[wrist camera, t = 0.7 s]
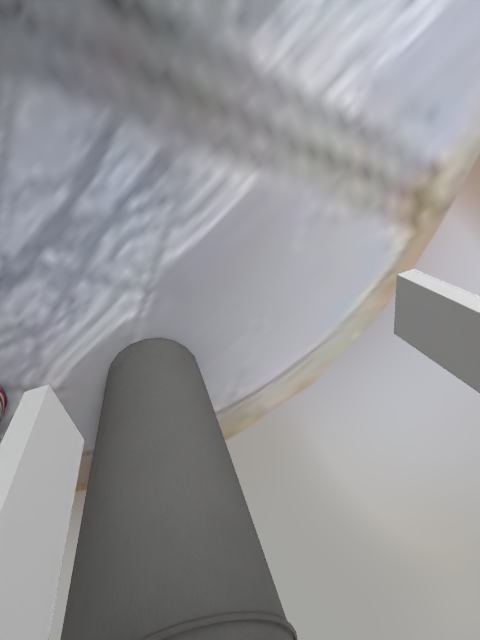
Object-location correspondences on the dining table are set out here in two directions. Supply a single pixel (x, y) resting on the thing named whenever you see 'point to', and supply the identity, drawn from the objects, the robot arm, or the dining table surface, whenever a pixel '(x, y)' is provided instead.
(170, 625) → the canister
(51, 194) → the dining table surface
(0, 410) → the soda can
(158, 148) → the dining table surface
